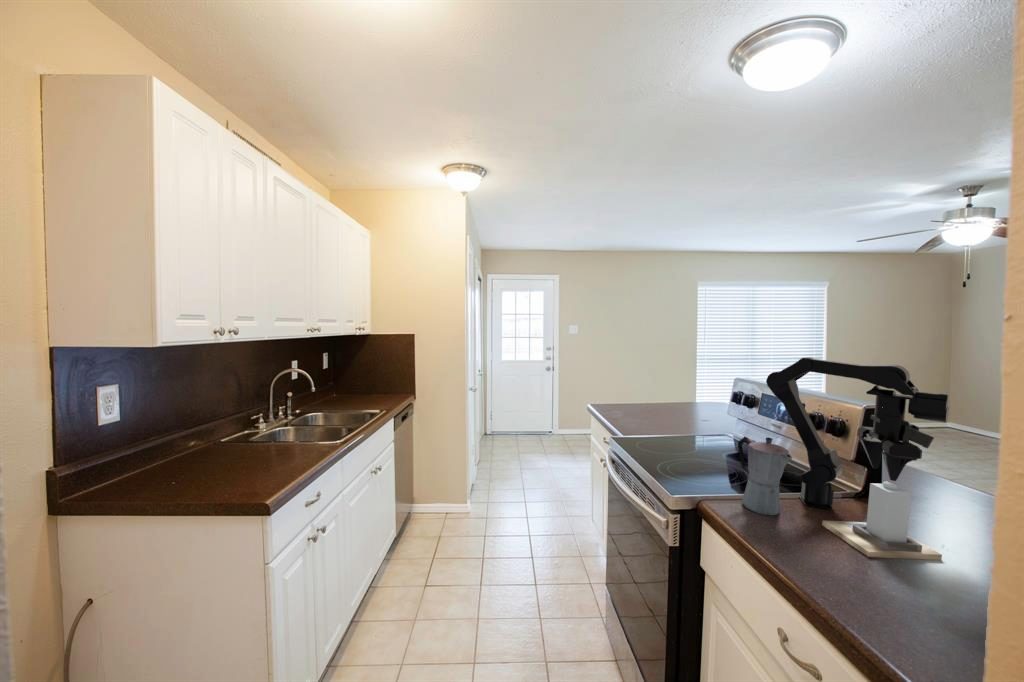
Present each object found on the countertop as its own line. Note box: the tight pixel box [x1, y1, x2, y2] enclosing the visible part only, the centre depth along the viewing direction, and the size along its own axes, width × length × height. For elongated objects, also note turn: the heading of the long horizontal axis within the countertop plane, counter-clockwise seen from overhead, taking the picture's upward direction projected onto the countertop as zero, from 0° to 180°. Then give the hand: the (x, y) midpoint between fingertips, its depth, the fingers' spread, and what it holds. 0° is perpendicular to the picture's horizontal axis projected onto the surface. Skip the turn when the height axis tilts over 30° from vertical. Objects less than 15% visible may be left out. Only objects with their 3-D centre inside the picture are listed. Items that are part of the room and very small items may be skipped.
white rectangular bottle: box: [866, 481, 912, 543], centre depth 97 cm, size 5×5×14 cm
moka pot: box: [737, 436, 793, 516], centre depth 115 cm, size 10×15×20 cm, turn 27°
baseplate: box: [821, 520, 943, 561], centre depth 99 cm, size 14×16×3 cm
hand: (883, 474), depth 108 cm, fingers open, 9 cm apart
